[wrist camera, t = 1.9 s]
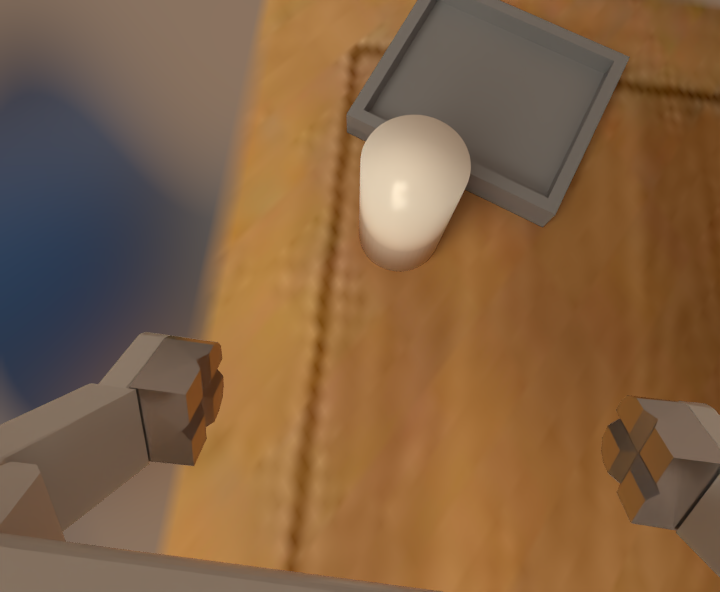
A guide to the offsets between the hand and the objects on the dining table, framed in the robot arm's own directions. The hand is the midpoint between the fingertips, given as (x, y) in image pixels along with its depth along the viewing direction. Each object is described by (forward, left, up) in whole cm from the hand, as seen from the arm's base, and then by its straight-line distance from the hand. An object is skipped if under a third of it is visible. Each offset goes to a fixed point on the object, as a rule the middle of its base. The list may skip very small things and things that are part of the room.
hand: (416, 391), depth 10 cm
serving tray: (+3, -27, -26) cm, 38 cm away
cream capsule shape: (+4, -13, -26) cm, 29 cm away
